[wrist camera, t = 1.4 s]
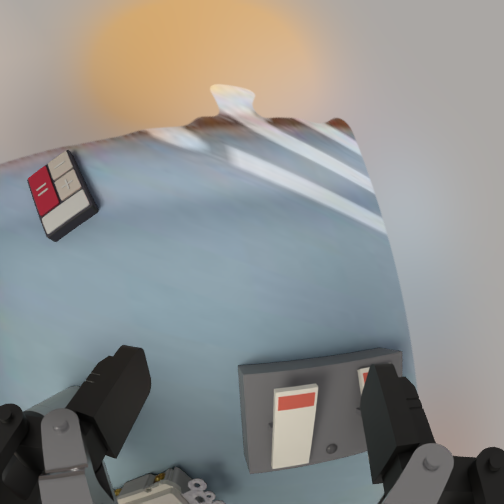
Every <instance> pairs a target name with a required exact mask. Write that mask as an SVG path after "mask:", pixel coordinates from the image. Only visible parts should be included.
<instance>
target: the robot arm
mask: <svg viewBox="0 0 504 504" xmlns="http://www.w3.org/2000/svg"><path fill="white" fill-rule="evenodd" d="M150 389H151V377H150V373H149V369H148V365H147V361H146V357H145V353H144V350H143V349H142V348H138V347H132V346H127V345H122V346H121V347H120V348H119V349H118V351H117V352H116V353H115V355H114V356H108V357H106V358H105V359H103V360H102V361H100V362H99V363H98V364H97V365H96V367H95V368H94V369H93V371H92V372H91V374H90V375H89V376H88V377H87V379H86V382H85V381H84V383H83V384H82V385H81V387H79V386H72V387H69V388H67V389H65V390H63V391H61V392H59V393H57V394H55V395H53V396H52V397H50V398H48V399H46V400H44V401H42V402H40V403H39V404H37V405H35V406H33V407H31V408H29V409H27V410H25V411H24V412H23V411H22V410H21V408H20V407H19V406H17V405H15V404H4V405H2V406H0V504H119V503H118V501H117V498H116V495H115V493H114V490H113V487H112V484H111V481H110V478H109V475H108V471H107V468H106V465H105V463H104V461H103V459H104V457H105V455H107V456H110V457H113V458H117V456H118V454H119V452H120V450H121V448H122V446H123V444H124V442H125V440H126V438H127V436H128V434H129V432H130V430H131V428H132V426H133V424H134V422H135V420H136V418H137V417H138V415H139V413H140V411H141V409H142V407H143V405H144V403H145V401H146V399H147V397H148V395H149V393H150ZM360 410H361V416H362V421H363V427H364V433H365V438H366V444H367V451H368V457H369V463H370V470H371V477H372V484H379V483H383V486H384V494H383V496H382V497H381V499H380V500H379V502H378V503H377V504H504V451H503V450H502V449H500V448H496V447H490V448H486V449H484V450H483V451H482V452H481V453H480V454H479V455H478V456H477V457H476V458H473V457H458V456H452V454H451V452H450V451H449V450H448V449H447V448H446V447H444V446H442V445H439V444H436V443H435V440H434V437H433V435H432V432H431V429H430V426H429V423H428V420H427V418H426V415H425V412H424V410H423V409H422V404H421V402H420V400H419V396H418V394H417V391H416V389H415V386H414V385H413V384H412V383H411V382H410V381H409V380H408V379H407V378H406V377H398V375H397V372H396V369H395V367H394V365H393V364H392V363H385V364H371V366H370V368H369V371H368V375H367V378H366V381H365V385H364V388H363V391H362V394H361V400H360Z"/></svg>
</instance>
